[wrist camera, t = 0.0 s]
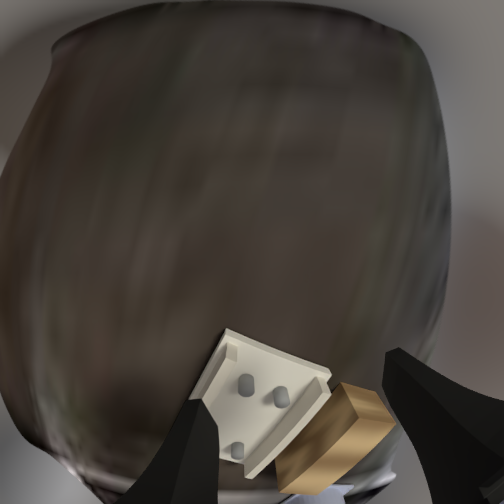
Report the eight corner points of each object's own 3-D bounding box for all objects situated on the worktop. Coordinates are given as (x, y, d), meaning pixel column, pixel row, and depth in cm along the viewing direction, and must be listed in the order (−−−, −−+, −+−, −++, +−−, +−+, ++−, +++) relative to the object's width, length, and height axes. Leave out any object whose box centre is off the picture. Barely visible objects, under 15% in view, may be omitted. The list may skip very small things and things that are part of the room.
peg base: (252, 459, 22) (253, 481, 19) (169, 433, 21) (163, 455, 18) (328, 368, 20) (339, 390, 17) (226, 328, 19) (223, 349, 16)
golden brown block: (308, 463, 23) (316, 495, 18) (274, 457, 23) (279, 492, 18) (375, 391, 21) (396, 423, 16) (340, 382, 21) (359, 417, 16)
